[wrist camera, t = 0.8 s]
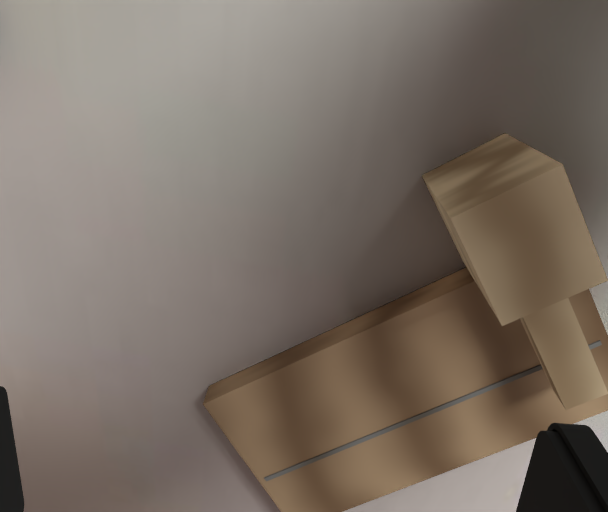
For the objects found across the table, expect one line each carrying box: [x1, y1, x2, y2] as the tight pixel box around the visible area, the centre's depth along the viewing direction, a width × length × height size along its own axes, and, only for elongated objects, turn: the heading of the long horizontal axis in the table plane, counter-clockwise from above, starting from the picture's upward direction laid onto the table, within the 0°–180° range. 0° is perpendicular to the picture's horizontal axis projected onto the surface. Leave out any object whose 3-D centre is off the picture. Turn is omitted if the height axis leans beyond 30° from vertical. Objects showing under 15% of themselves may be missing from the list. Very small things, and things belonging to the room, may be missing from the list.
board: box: [203, 267, 608, 512], centre depth 36 cm, size 24×12×2 cm, turn 119°
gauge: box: [422, 133, 608, 410], centre depth 29 cm, size 5×14×8 cm, turn 29°
